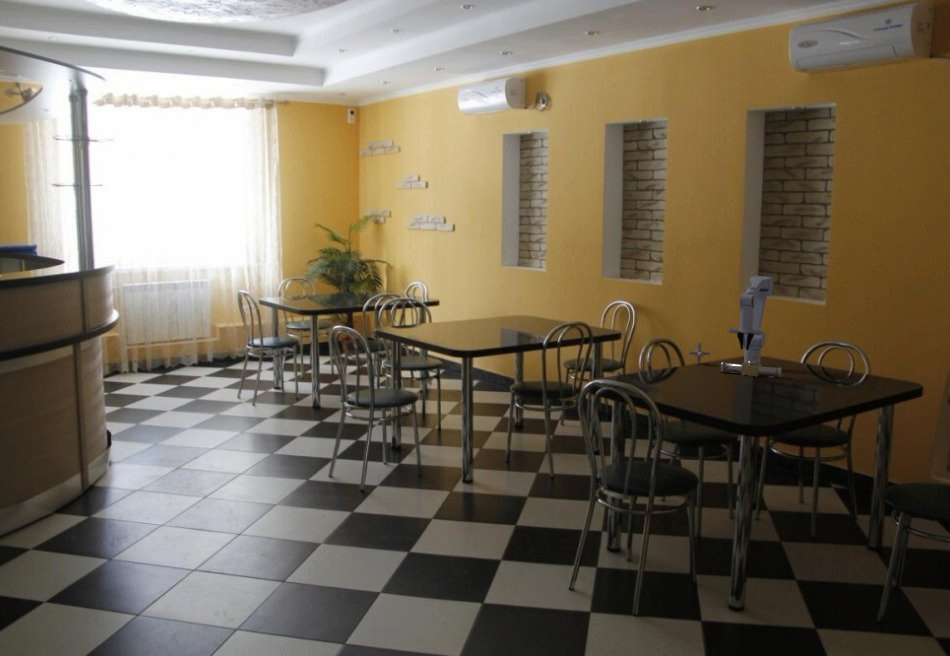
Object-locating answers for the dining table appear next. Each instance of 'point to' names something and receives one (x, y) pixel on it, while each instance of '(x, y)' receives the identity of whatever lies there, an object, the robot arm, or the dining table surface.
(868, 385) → the dining table surface
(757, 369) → the valve pipe
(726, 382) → the dining table surface
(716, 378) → the dining table surface
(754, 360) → the lever
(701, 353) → the pipe connector
